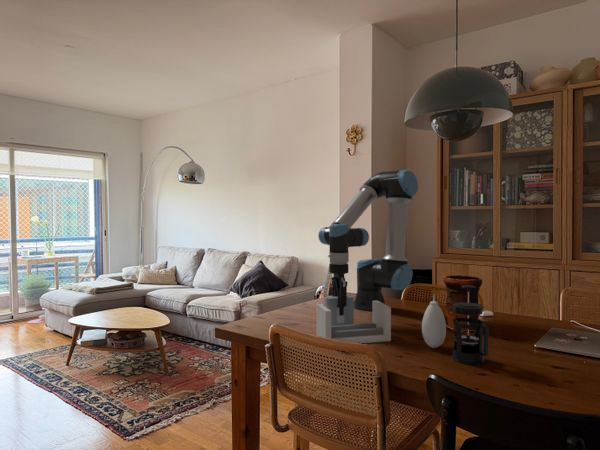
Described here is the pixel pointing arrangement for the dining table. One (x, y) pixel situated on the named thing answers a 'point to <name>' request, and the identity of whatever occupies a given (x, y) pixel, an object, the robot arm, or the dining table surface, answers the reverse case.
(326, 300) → the sliding door panel
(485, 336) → the french press
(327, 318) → the door track
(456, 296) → the vessel
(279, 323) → the dining table surface
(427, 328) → the white air blower bulb
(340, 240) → the robot arm
